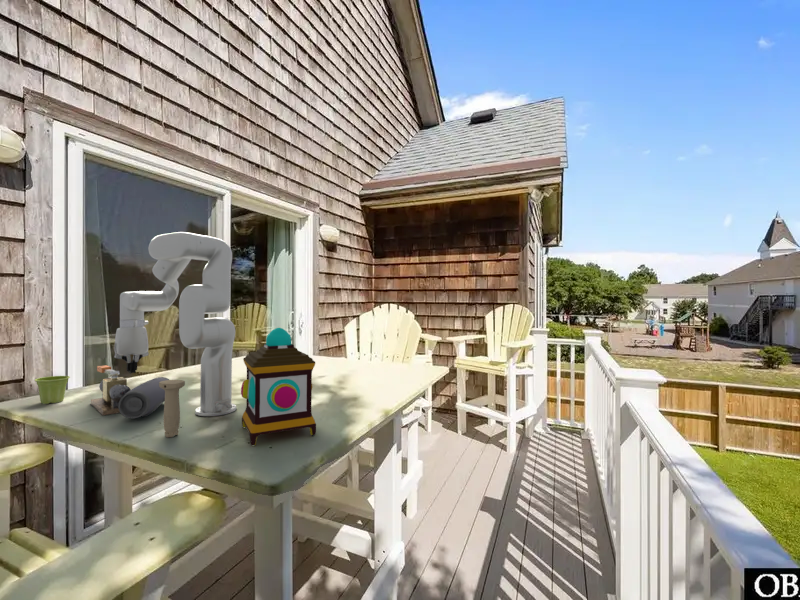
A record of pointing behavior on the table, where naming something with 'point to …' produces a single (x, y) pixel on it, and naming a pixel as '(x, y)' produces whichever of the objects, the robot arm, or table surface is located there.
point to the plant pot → (52, 388)
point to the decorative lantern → (277, 388)
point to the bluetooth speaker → (142, 399)
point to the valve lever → (107, 370)
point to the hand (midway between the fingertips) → (131, 372)
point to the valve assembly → (110, 395)
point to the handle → (171, 406)
